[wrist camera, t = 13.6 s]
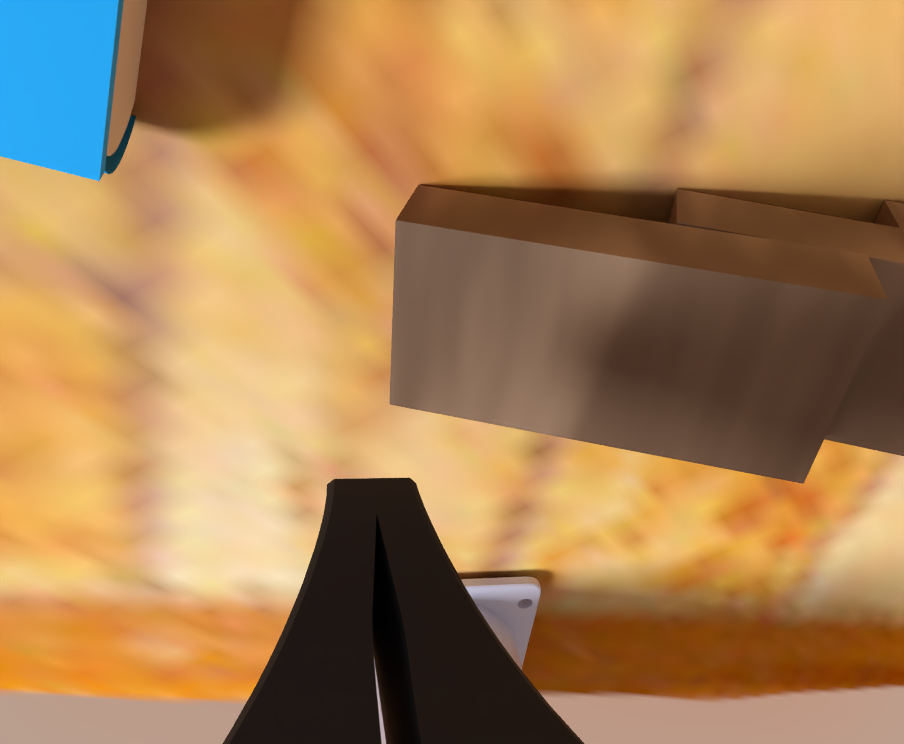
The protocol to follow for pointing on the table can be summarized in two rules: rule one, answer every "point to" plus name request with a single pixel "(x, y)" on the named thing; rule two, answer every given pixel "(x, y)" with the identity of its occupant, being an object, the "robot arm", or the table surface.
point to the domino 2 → (896, 334)
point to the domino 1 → (626, 330)
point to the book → (69, 82)
